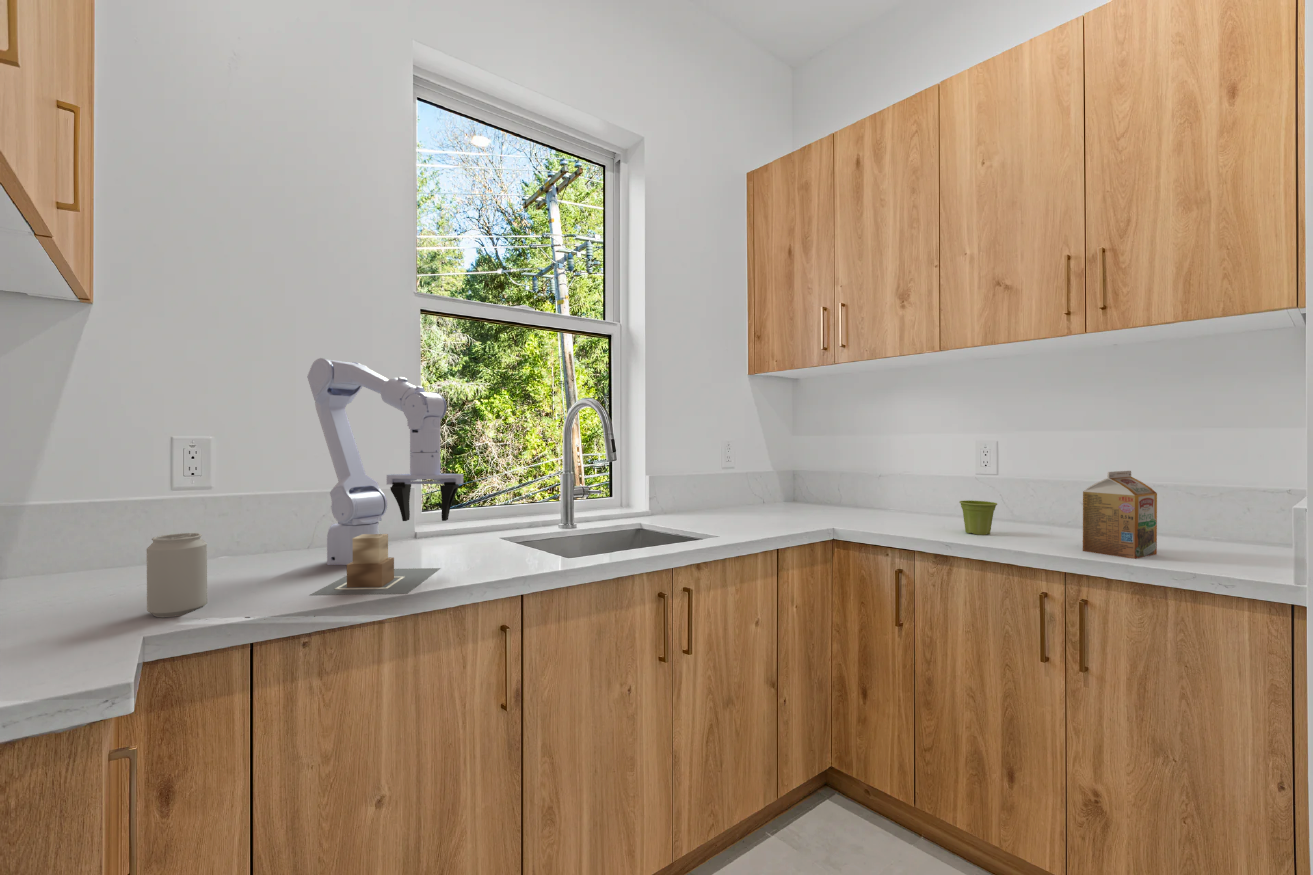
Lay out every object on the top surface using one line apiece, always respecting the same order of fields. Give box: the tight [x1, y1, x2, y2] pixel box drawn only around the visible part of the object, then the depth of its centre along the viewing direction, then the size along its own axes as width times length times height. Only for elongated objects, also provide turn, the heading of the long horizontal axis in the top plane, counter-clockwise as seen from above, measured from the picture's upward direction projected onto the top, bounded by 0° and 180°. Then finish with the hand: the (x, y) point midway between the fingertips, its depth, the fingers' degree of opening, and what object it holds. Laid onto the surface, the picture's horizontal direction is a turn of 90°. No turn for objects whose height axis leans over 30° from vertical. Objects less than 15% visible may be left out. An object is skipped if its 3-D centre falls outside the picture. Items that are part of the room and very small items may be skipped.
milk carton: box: [1082, 470, 1158, 560], centre depth 146 cm, size 11×11×19 cm
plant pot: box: [958, 499, 998, 536], centre depth 174 cm, size 9×9×9 cm
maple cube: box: [353, 533, 389, 564], centre depth 113 cm, size 4×4×4 cm
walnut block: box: [346, 556, 395, 587], centre depth 113 cm, size 6×6×4 cm
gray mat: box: [309, 567, 442, 596], centre depth 115 cm, size 16×20×1 cm
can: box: [146, 532, 208, 618], centre depth 98 cm, size 8×8×12 cm
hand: (425, 520), depth 126 cm, fingers open, 7 cm apart
